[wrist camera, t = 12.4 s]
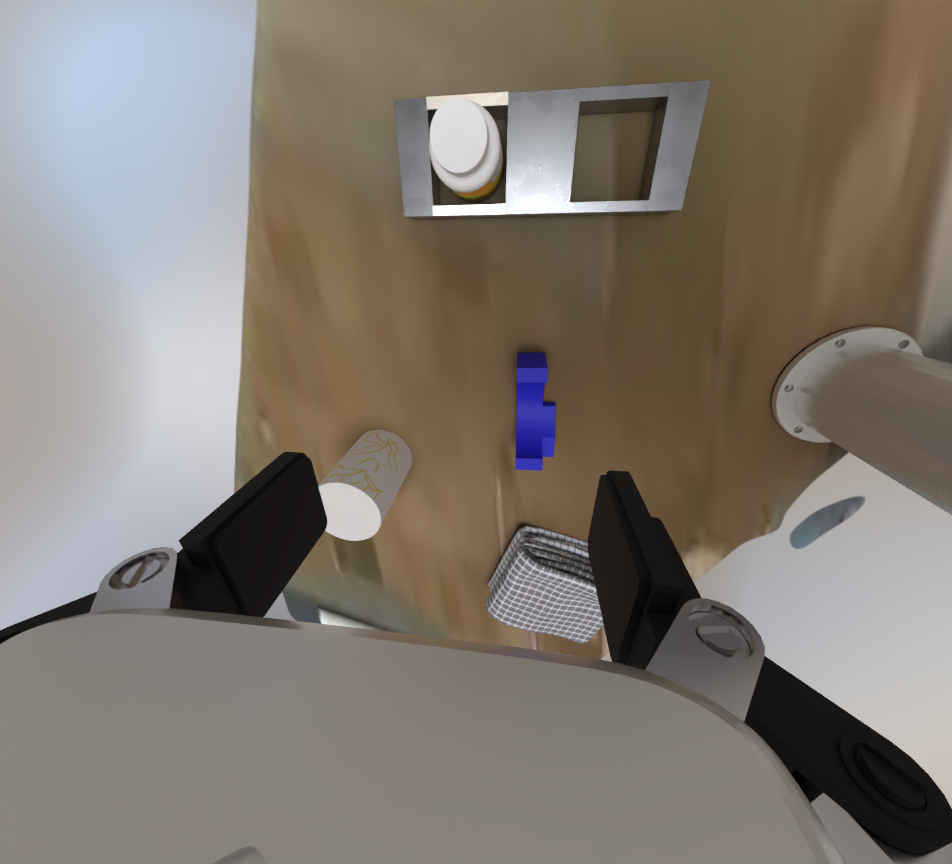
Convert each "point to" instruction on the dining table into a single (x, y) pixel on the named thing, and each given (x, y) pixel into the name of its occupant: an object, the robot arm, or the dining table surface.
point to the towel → (546, 586)
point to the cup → (365, 484)
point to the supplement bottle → (466, 149)
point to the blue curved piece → (533, 413)
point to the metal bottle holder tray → (557, 149)
